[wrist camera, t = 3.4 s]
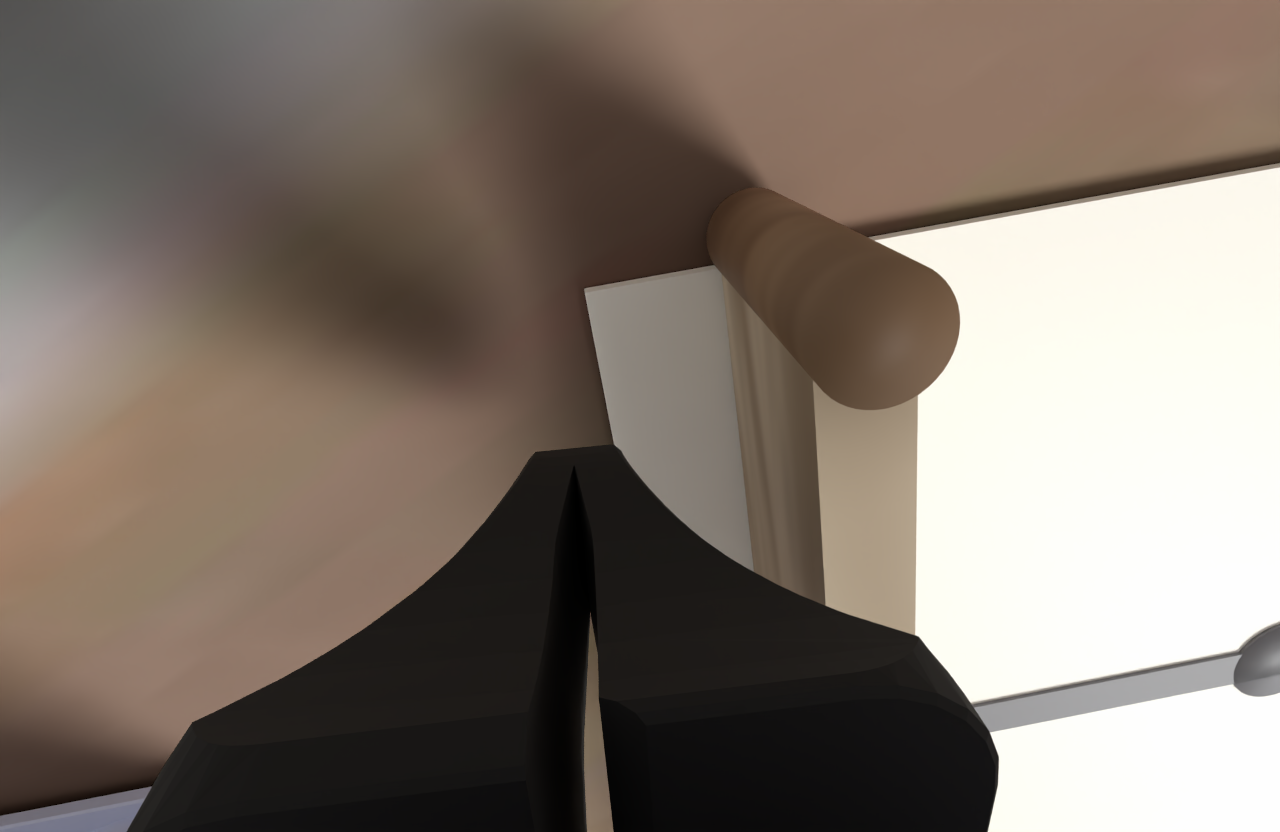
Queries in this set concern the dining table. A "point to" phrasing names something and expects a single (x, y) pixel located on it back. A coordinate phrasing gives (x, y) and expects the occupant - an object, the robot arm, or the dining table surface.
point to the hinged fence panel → (829, 398)
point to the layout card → (1056, 489)
